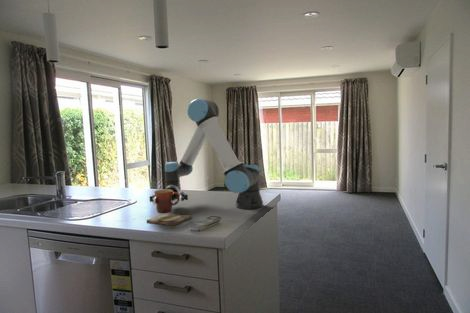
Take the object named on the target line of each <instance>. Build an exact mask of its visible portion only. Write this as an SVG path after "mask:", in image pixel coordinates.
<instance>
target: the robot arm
mask: <svg viewBox="0 0 470 313" xmlns="http://www.w3.org/2000/svg"><path fill="white" fill-rule="evenodd" d="M219 115H220V109H219V105H218V104H217V103H216V102H215V101H213V100H210V99H203V98H194V99H193V100H191V102H190V103H189V104H188V107H187V116H188V118H189V119H190V120H191V121H193V122H195V123H196V128H195V131H194V132H193V135H192V136H191V138H190V140H189V143H188V144H187V147H186V150H184V153H183V155H182V157H181V159H180V162H177V161H168V162H167V161H166V162H165V164H164V174H165V175H164V178H165V179H164V180H165V189H164V190H173V192H178V193H179V195H180V197H179V202H178V203H179V205H180V204H182V202H184V201H188V200H189V199H188V198H189V196H188V194H187V193H185V192H184V191H181V192H180V190H181V187H180V178H181V177H185V176H189V175H191V173H193V170H194V169H193V165H194V163H195V161H196V159H197V157H198V155H199V153H200V151H201V149H202V147H203V145H204V144H205V141H206V139H207V140H208V142H209V144H210V145H211V148H212V149H213V151H214V152H215V155H216V157H217V158H218V161H219V162H220V163H221V166H222V168H223V175H224V177H225V179H224V180H225V181H224V183H225V187H227V188H226V189H228V190H229V191H230V192H231V193H234V194H237V196H236V201H235V207H236V208H238V209H243V210H251V209H259V208H260V209H261V208H262V207H263V206H264V201H263V198H262V195H261V192H260V168H259V166H258V165H257V164H254V165H253V164H244V162H243V161H240V160H239V159H238V157H237V155H236V154H235V152H234V150H233V148H232V146H231V145H230V143H229V141H228V139H227V137H226V135H225V133H224V132H223V130H222V129H221V126H220V125H219V123H218V119H219V117H220V116H219ZM175 200H178V195H177V194H173V195H172V202H175ZM149 202H150V203H151V202H152V203H153V205H154V206H156V196H155V194H152V195H149Z"/></svg>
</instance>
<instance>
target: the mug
mask: <svg viewBox="0 0 470 313" xmlns="http://www.w3.org/2000/svg"><path fill="white" fill-rule="evenodd" d="M173 194H177V195H178V199H176V200H177V201H174V202H173V201H172V195H173ZM179 194H180V192H179V193H178V192H173V190H165V189H158V190H155V191H154V195H155V196H156V205H155V206H156V212H157V213H158V214H160V215H162V214H164V213H167V214H171V212H172V210H173V206H175V205H177V204H178V203H179V197H180V195H179Z"/></svg>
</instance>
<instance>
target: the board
mask: <svg viewBox="0 0 470 313" xmlns="http://www.w3.org/2000/svg"><path fill="white" fill-rule="evenodd" d="M190 219H192V215H188V214H187V215H186V214H177V213H164V214H159V215H157V216H155V217H151V218H148V219H147V220H146V223H147V222H148V223H147V224H154V223H157V224H156V225H163V224H165V225H164V226H173V227H174V226H177V225H179V224H181V223H184V222H186V221H188V220H190Z"/></svg>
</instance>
